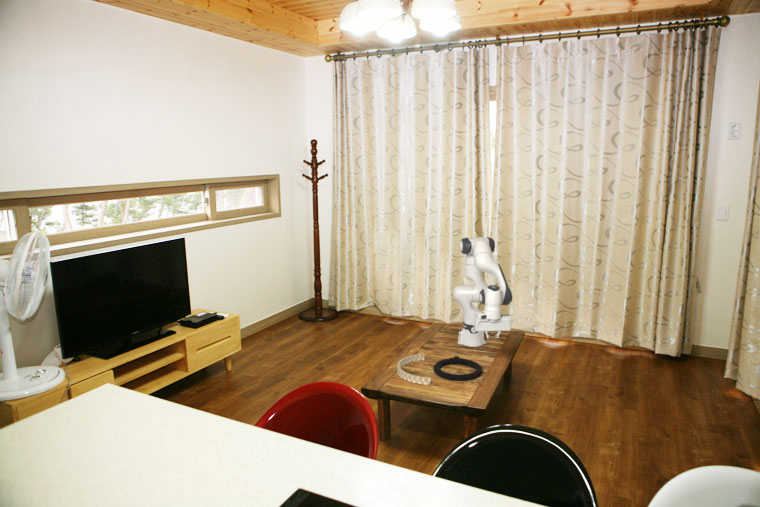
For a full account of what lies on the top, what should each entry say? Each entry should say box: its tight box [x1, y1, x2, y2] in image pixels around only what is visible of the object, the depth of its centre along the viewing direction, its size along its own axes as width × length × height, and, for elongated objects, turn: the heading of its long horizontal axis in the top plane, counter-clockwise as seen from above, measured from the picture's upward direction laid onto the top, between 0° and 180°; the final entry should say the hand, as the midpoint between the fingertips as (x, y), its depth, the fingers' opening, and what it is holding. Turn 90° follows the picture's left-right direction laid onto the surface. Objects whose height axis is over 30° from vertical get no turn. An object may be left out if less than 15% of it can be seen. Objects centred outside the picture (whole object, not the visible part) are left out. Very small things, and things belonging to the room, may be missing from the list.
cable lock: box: [433, 355, 483, 382], centre depth 296 cm, size 28×4×30 cm
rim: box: [396, 353, 431, 386], centre depth 296 cm, size 37×17×4 cm, turn 0°
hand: (492, 338), depth 293 cm, fingers open, 3 cm apart
